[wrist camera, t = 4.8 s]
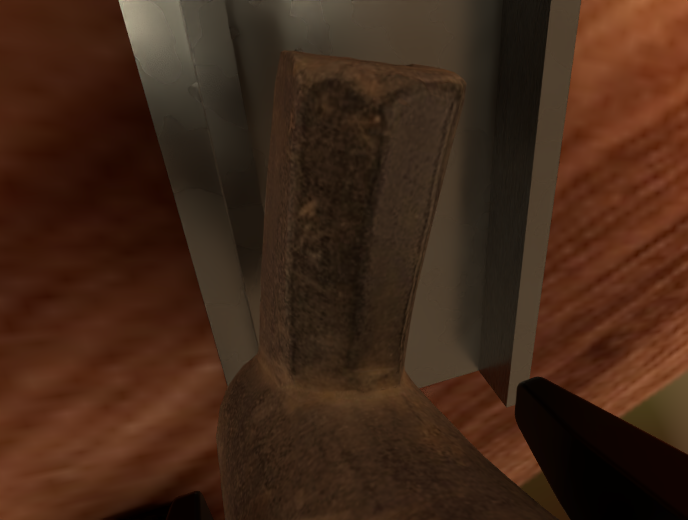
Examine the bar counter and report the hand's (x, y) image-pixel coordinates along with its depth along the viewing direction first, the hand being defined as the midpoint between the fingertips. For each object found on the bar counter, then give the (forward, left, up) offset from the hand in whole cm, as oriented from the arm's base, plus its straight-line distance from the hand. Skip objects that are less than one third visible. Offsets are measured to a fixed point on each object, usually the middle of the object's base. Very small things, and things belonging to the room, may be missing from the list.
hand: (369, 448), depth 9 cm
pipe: (-1, +1, -5) cm, 5 cm away
